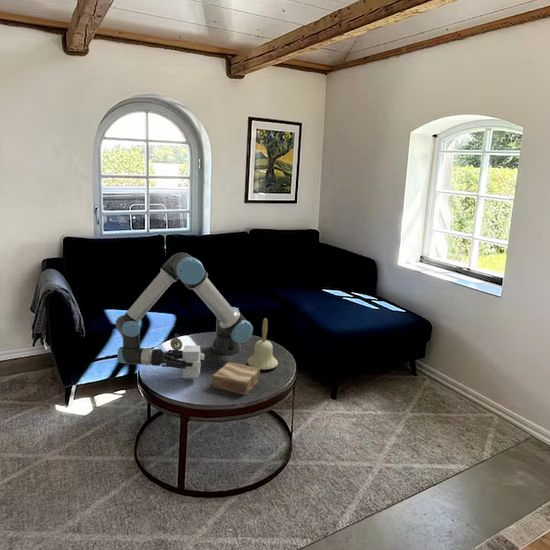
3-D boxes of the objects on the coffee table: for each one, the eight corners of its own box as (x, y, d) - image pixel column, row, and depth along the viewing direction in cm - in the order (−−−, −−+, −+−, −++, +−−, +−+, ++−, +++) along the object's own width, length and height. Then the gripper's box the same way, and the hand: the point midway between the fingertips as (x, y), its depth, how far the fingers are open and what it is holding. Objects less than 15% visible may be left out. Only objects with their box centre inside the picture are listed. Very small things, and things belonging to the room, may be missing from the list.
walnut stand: (228, 373, 236) (229, 361, 234) (259, 380, 230) (260, 368, 229) (212, 387, 221) (213, 375, 220) (245, 395, 216) (246, 382, 214)
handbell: (264, 375, 236) (267, 326, 230) (240, 365, 245) (243, 318, 239) (283, 365, 248) (287, 318, 242) (260, 356, 257) (263, 311, 251)
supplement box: (200, 370, 230) (200, 345, 227) (198, 378, 223) (198, 352, 219) (184, 370, 229) (184, 344, 226) (182, 377, 222) (182, 351, 219)
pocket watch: (166, 357, 249) (166, 338, 247) (165, 350, 257) (165, 332, 255) (183, 356, 252) (183, 337, 249) (181, 349, 259) (181, 332, 257)
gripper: (158, 355, 236) (206, 358, 235) (145, 374, 216) (197, 378, 215) (158, 340, 234) (206, 344, 233) (145, 358, 214) (197, 362, 213)
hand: (202, 360), depth 224 cm, fingers closed on supplement box, 8 cm apart
